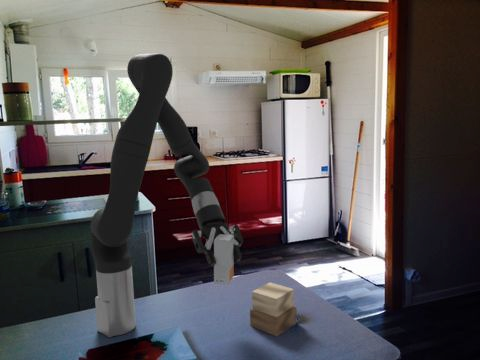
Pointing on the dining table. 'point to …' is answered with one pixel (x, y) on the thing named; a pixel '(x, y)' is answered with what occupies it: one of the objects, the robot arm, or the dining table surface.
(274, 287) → the beech block
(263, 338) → the dining table surface
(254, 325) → the walnut block
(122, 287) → the robot arm
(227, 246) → the skincare box
